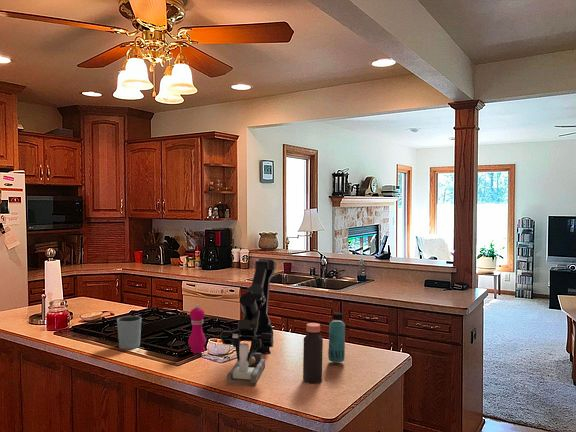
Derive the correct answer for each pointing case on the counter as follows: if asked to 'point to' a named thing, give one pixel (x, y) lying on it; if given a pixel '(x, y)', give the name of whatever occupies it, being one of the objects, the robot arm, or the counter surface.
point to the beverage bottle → (336, 339)
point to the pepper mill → (197, 330)
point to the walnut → (251, 361)
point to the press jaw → (243, 364)
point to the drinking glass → (129, 332)
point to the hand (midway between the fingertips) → (243, 360)
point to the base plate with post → (258, 370)
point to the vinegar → (312, 354)
